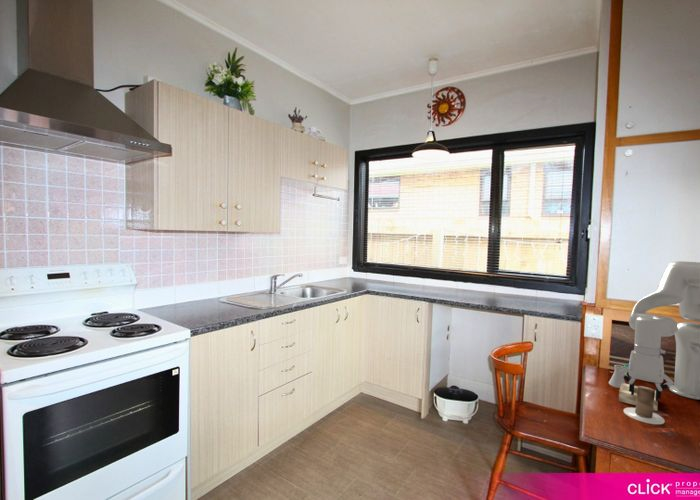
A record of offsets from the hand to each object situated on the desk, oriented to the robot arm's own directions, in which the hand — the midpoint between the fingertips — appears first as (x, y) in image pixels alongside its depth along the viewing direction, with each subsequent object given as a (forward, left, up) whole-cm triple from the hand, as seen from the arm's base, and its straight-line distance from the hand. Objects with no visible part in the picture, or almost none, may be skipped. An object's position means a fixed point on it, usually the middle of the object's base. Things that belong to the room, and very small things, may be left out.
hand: (644, 396), depth 133 cm
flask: (-13, -27, -9) cm, 31 cm away
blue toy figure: (-34, -39, -9) cm, 53 cm away
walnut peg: (0, 0, -7) cm, 7 cm away
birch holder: (-9, -12, -8) cm, 17 cm away
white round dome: (0, 0, -8) cm, 8 cm away
